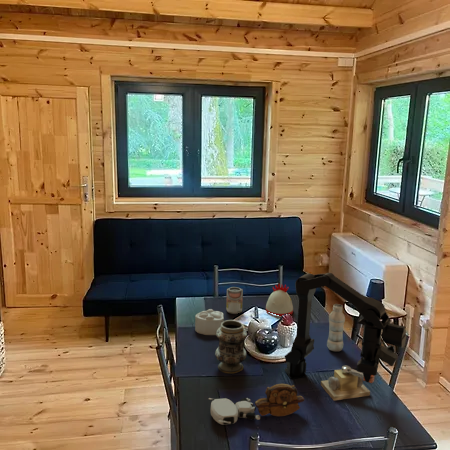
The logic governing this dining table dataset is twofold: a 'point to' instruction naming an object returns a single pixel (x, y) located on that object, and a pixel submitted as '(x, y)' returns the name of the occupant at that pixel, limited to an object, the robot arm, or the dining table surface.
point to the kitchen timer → (279, 301)
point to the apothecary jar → (231, 346)
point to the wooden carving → (279, 400)
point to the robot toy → (232, 410)
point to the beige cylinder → (234, 300)
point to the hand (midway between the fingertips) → (367, 381)
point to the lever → (355, 373)
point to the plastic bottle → (336, 329)
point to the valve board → (345, 393)
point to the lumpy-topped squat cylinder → (208, 322)
